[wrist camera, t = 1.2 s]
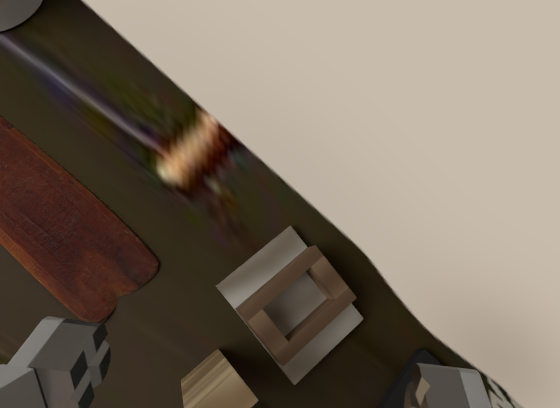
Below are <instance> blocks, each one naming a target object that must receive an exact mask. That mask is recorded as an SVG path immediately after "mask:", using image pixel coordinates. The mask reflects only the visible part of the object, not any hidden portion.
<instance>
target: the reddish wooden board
mask: <svg viewBox="0 0 560 408" xmlns="http://www.w3.org/2000/svg"><path fill="white" fill-rule="evenodd" d="M0 243H1V244H2V245H3V246H4V247H5V248H6V249H7V250H8V251H9V252H10V253H11V254H12V255H13V256H14V257H15V258H16V259H17V260H18V261H19V262H20V263H21V264H22V265H23V266H24V267H25V268H26V269H27V270H28V271H29V272H30V273H31V274H32V275H33V276H34V277H35V278H36V279H37V280H38V281H39V282H40V283H41V284H43V285H44V286H45V287H46V288H47V289H48V290H49V291H50V292H51V293H52V294H53V295H54V296H55V297H56V298H57V299H58V300H59V301H61V302H62V303H63V304H64V305H65V306H66V307H67V308H68V309H69V310H70V311H71V312H72V313H74V314H75V315H76V316H77V317H79V318H80V319H81V320H83V321H86V322H92V323H99V324H102V323H103V322H104V321H105V320H106V319H107V317H108V316H109V315H110V314H111V313H112V311H113V310H114V309H115V307H116V305H117V300H118V296H120V295H125V294H129V293H132V292H134V291H136V290H138V289H139V288H141V287H142V286H143V285H144V284H145V283H147V282H148V281H149V280H150V279H151V278H152V277H153V276H154V275H155V274H156V273H157V271H158V261H157V258H155V256H154V255H153V254H152V253H151V252H150V250H149V249H148V248H147V247H146V246H145V245H144V243H143V242H142V241H141V240H140V239H139V238H138V237H137V236H136V235H135V234H134V233H133V232H132V231H131V230H130V229H129V228H128V227H127V226H126V225H125V224H124V223H123V222H122V221H121V220H120V219H119V218H118V217H117V216H116V215H115V214H114V213H113V212H112V211H111V210H110V209H108V208H107V207H106V206H105V205H104V204H103V203H102V202H101V201H100V200H99V199H97V198H96V197H95V196H94V195H93V194H92V193H91V192H90V191H89V190H88V189H86V188H85V187H84V186H83V185H82V184H80V183H79V182H78V181H77V180H76V179H75V178H73V177H72V176H71V175H70V174H69V173H68V172H67V171H65V170H64V169H63V168H62V167H61V166H60V165H58V164H57V163H56V162H55V161H54V160H53V159H51V158H50V157H49V156H48V155H47V154H46V153H44V152H43V151H42V150H41V149H39V148H38V147H37V146H36V145H35V144H34V143H33V142H31V141H30V140H29V139H28V138H26V137H25V136H24V135H23V134H22V133H21V132H20V131H18V130H17V129H15V128H12V126H11V124H10V123H8V122H7V121H6V120H4V119H3V118H2V117H0Z"/></svg>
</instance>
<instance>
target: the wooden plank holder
mask: <svg viewBox="0 0 560 408" xmlns="http://www.w3.org/2000/svg"><path fill="white" fill-rule="evenodd" d="M216 287H217V288H218V289H219V290H220V292H221V293H222V294H223V296H224V297H225V298H226V299H227V301H228V302H229V303H230V304H231V306H232V307H233V308H234V310H235V311H236V312H237V313H238V315H239V316H240V317H241V318H242V320H243V321H244V322H245V324H246V325H247V326H248V327H249V329H250V330H251V331H252V332H253V334H254V335H255V336H256V338H257V339H258V340H259V341H260V343H261V344H262V345H263V346H264V348H265V349H266V350H267V352H268V353H269V354H270V355H271V357H272V358H273V359H274V360H275V362H276V363H277V364H278V365H279V367H280V368H281V369H282V371H283V372H284V373H285V374H286V376H287V377H288V378H289V379H290V381H291V382H292V383H293V384H294V385H295V384H296V383H297V382H299V381H300V380H301V379H302V378H303V377H304V376H305V375H306V374H307V373H308V372H309V371H310V370H311V369H312V368H313V367H314V366H315V365H316V364H317V363H318V362H319V361H320V360H321V359H322V358H324V357H325V356H326V355H327V354H328V353H329V352H330V351H331V350H332V349H333V348H334V347H335V346H336V345H337V344H338V343H339V342H340V341H341V340H342V339H343V338H344V337H345V336H346V335H348V334H349V333H350V332H351V331H352V330H353V329H354V328H355V327H356V326H357V325H358V324H359V323H360V322H361V321H362V320H363V317H362V316H361V315H360V313H359V312H358V311H357V310H356V308H355V307H354V306H353V305H352V302H353V301H354V300H355V299H356V298H357V297H356V296H355V295H354V294H353V292H352V291H351V290H350V288H349V287H348V286H347V285H346V283H345V282H344V281H343V279H342V278H341V277H340V276H339V274H338V273H337V272H336V271H335V269H334V268H333V267H332V265H331V264H330V263H329V262H328V260H327V259H326V258H325V257H324V255H323V254H322V253H321V251H320V250H319V249H318V248H317V246H316V245H314V246H311V247H307V246H306V245H305V243H304V242H303V241H302V240H301V238H300V237H299V236H298V235H297V233H296V232H295V231H294V229H293V228H292V227H291V226H289V227H288V228H286V229H285V230H284V231H283V232H282V233H280V234H279V235H278V236H277V237H275V238H274V239H273V240H272V241H271V242H269V243H268V244H267V245H266V246H264V247H263V248H262V249H261V250H259V251H258V252H257V253H256V254H255V255H253V256H252V257H251V258H250V259H248V260H247V261H246V262H245V263H243V264H242V265H241V266H240V267H239V268H237V269H236V270H235V271H234V272H232V273H231V274H230V275H229V276H227V277H226V278H225V279H224V280H223V281H221V282H220V283H219V284H218V285H216Z"/></svg>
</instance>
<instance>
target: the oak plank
mask: <svg viewBox="0 0 560 408" xmlns="http://www.w3.org/2000/svg"><path fill="white" fill-rule="evenodd" d="M181 386H182V395H183V405H184V408H251V407H252V406H253V405H254V404H255V403H256V402H257V401H258V399H257V398H256V397H255V395H254V394H253V393H252V391H251V390H250V389H249V388H248V386H247V385H246V384H245V382H244V381H243V380H242V379H241V377H240V376H239V375H238V373H237V372H236V371H235V369H234V368H233V367H232V366H231V364H230V363H229V362H228V361H227V359H226V358H225V357H224V356H223V354H222V353H221V352H220V350H219V349H217V350H216V351H214V352H213V353H212V354H211V355H210V356H209V357H207V358H206V359H205V360H204V361H203V362H202V363H201V364H199V365H198V366H197V367H196V368H195V369H194V370H192V371H191V372H190V373H189V374H188V375H187V376H186V377H184V378H183V379H182V380H181Z"/></svg>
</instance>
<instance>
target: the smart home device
mask: <svg viewBox="0 0 560 408" xmlns="http://www.w3.org/2000/svg"><path fill="white" fill-rule="evenodd" d="M416 363H422V364H431V365H440V366H443V365H442V364H441V363H439V362H438V361H437V360H436V359H435V358H434V357H433V356H432V355H431V354H430V353H429V352H428V351H426V350H424V349H418V350H416V351H415V352H414V353H413V355H412V356H411V358H410V359H409V361H408V362H407V364H406V365H405V367H404V368H403V369H402V371H401V372H400V374H399V375H398V377H397V378H396V380H395V381H394V383H393V384H392V386H391V387H390V389H389V390H388V391H387V393H386V394H385V396H384V397H383V399H382V400H381V402H380V403H379V405H378V406H377V408H404V400H405V392H406V388H407V385H408V384H409V383H410V382H412V381H413V378H412V373H411V372H412V369H413V366H414V365H415V364H416Z"/></svg>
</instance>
